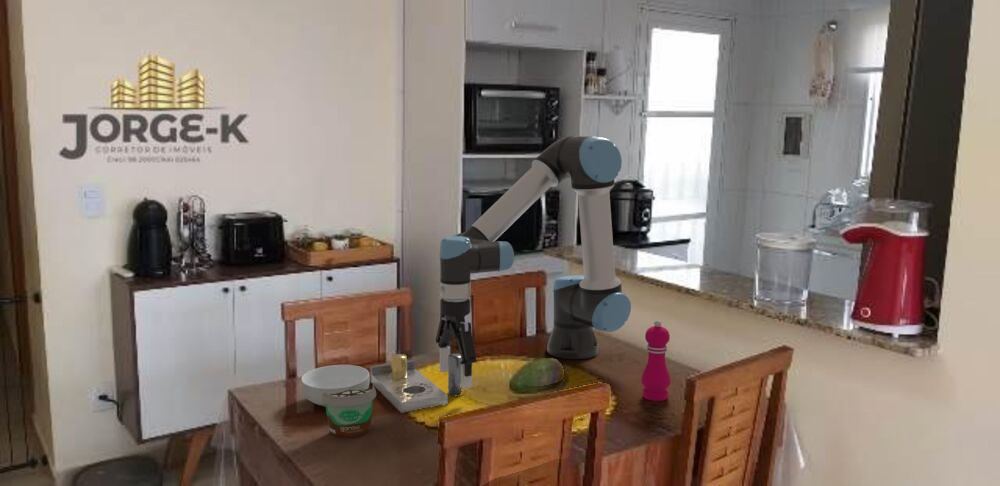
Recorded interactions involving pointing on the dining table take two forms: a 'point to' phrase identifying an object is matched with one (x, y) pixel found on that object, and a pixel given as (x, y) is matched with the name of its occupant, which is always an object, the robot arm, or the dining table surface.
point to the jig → (406, 385)
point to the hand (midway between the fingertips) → (455, 379)
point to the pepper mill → (656, 364)
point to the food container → (349, 412)
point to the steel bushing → (454, 374)
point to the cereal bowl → (333, 381)
